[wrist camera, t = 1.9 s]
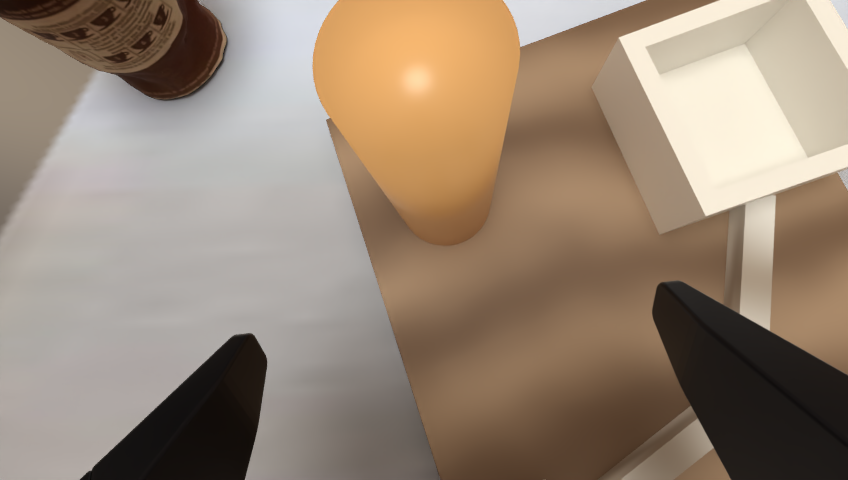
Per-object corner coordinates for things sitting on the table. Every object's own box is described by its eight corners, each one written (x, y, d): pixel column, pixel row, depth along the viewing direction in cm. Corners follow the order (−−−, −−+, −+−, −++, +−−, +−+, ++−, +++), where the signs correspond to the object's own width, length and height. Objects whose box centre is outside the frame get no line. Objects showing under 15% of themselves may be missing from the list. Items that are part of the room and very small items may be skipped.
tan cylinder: (503, 227, 21) (552, 109, 9) (417, 258, 21) (346, 185, 9) (472, 146, 22) (476, -66, 10) (389, 176, 22) (289, 6, 10)
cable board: (990, 487, 18) (1113, 529, 15) (496, 641, 19) (502, 714, 15) (713, -14, 23) (756, -72, 19) (331, 127, 24) (308, 96, 20)
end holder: (827, 176, 20) (916, 142, 16) (659, 234, 20) (705, 216, 16) (746, 30, 21) (809, -33, 17) (591, 87, 22) (618, 37, 18)
